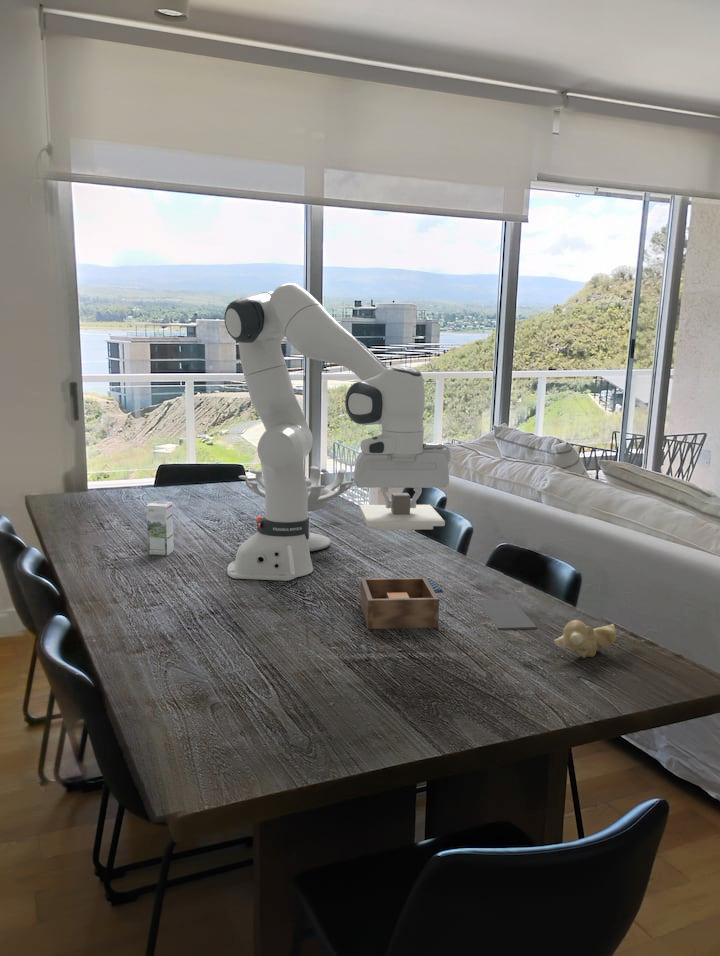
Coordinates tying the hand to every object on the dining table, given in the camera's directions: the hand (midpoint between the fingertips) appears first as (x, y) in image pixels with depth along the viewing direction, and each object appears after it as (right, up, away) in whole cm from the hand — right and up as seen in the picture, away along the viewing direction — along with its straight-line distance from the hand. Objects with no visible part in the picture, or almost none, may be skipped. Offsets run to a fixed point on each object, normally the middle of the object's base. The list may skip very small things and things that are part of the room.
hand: (400, 507), depth 167 cm
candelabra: (-27, -14, +64) cm, 70 cm away
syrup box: (-65, -15, +53) cm, 85 cm away
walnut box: (0, -25, +4) cm, 25 cm away
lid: (0, -3, +1) cm, 3 cm away
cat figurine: (+35, -29, -13) cm, 47 cm away
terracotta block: (0, -24, +4) cm, 24 cm away
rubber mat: (+19, -24, +8) cm, 32 cm away
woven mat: (+6, -22, +24) cm, 33 cm away
